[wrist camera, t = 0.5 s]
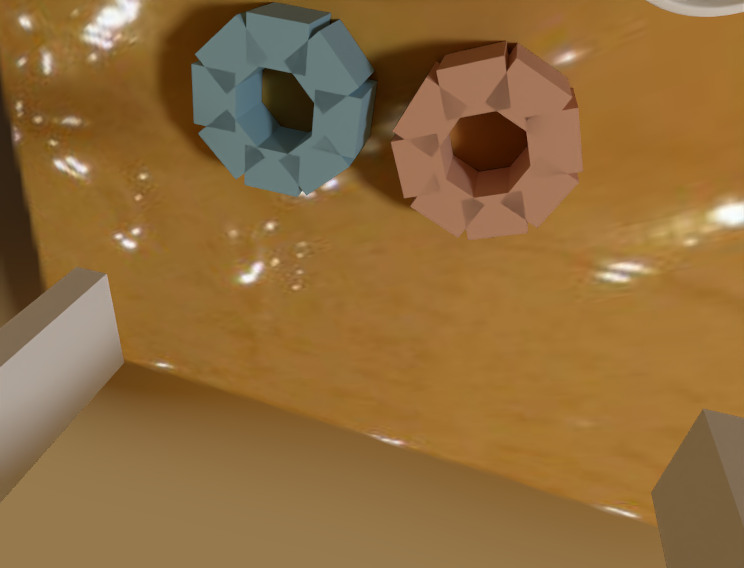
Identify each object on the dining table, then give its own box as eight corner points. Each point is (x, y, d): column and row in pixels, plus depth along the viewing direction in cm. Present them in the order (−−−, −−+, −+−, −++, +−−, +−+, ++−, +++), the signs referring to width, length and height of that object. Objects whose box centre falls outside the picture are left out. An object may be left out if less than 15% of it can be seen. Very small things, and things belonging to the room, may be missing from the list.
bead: (221, -8, 33) (188, 1, 30) (385, 23, 32) (369, 35, 29) (223, 151, 39) (195, 173, 36) (363, 182, 38) (348, 208, 35)
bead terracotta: (391, 66, 34) (376, 83, 30) (567, 26, 30) (573, 40, 27) (425, 217, 38) (415, 246, 35) (581, 196, 35) (587, 225, 32)
